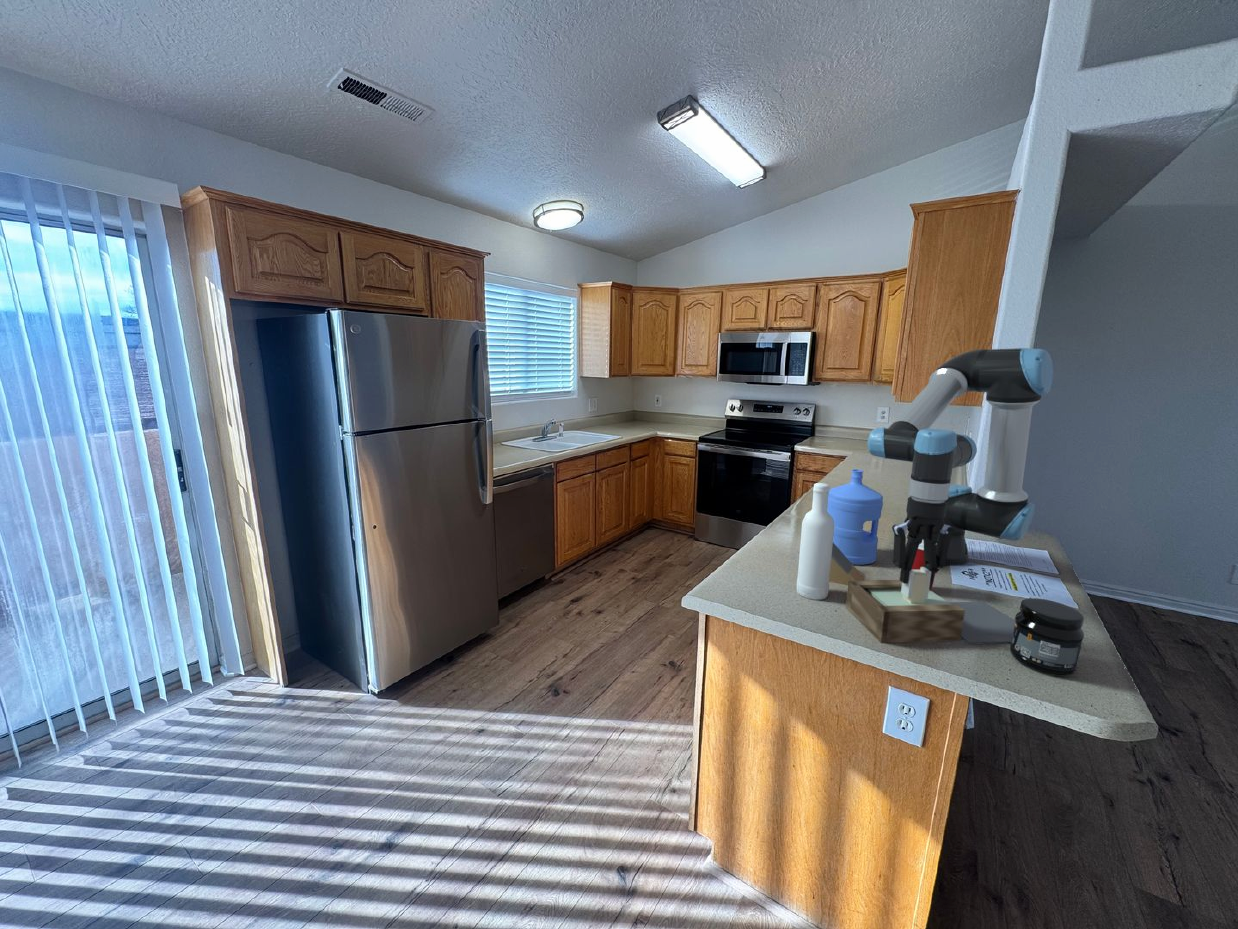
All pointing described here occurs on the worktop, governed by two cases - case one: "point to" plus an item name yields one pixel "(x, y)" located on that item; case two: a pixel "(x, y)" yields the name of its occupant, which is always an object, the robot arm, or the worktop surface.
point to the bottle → (816, 547)
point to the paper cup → (921, 560)
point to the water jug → (855, 519)
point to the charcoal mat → (985, 624)
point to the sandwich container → (842, 568)
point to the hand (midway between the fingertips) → (914, 595)
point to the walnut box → (902, 616)
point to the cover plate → (898, 600)
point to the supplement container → (1047, 636)
